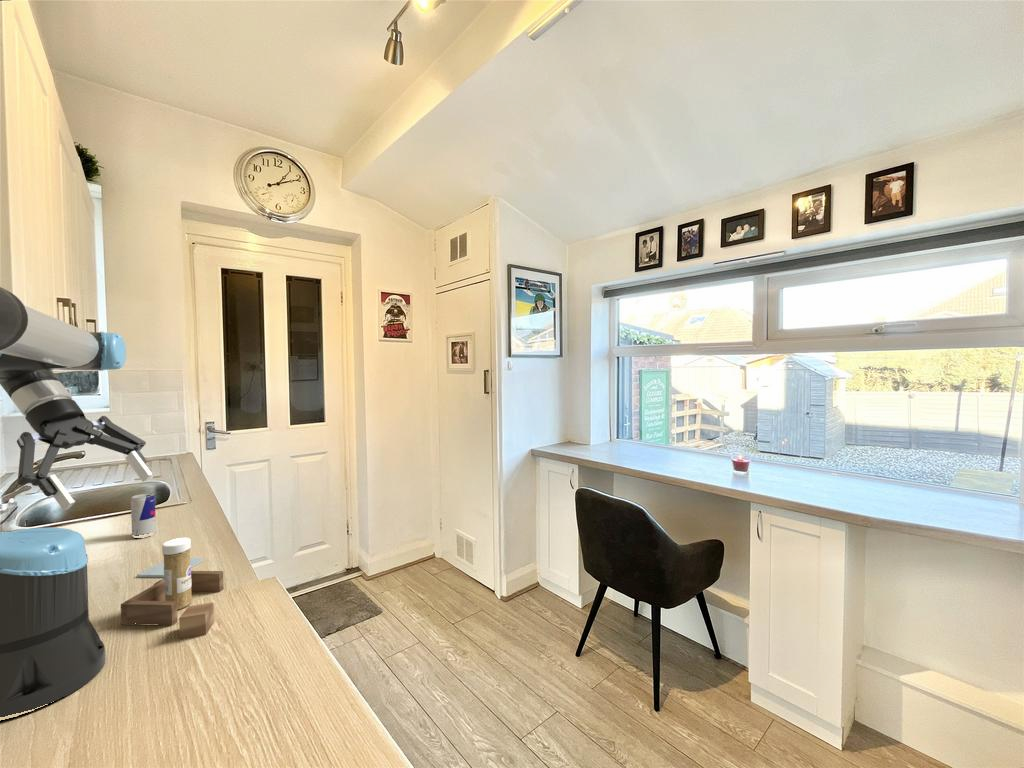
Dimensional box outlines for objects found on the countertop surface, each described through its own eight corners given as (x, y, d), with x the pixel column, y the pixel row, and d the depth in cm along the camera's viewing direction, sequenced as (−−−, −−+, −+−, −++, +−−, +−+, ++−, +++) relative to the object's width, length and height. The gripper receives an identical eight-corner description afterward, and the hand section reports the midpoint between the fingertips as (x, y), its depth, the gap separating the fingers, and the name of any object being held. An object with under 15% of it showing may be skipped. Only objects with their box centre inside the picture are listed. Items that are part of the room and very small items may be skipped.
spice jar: (191, 607, 86) (189, 542, 85) (162, 614, 83) (160, 547, 83) (193, 597, 89) (191, 534, 89) (165, 604, 87) (163, 539, 86)
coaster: (174, 577, 98) (174, 575, 98) (137, 577, 98) (137, 574, 98) (203, 560, 107) (203, 558, 107) (169, 560, 107) (169, 557, 107)
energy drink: (159, 534, 125) (157, 494, 124) (135, 541, 120) (134, 499, 120) (152, 531, 127) (150, 492, 127) (129, 537, 123) (127, 496, 123)
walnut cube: (206, 635, 76) (205, 613, 76) (179, 639, 75) (179, 617, 75) (214, 622, 80) (213, 602, 80) (189, 626, 79) (188, 606, 79)
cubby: (172, 625, 79) (171, 604, 79) (121, 624, 80) (120, 604, 80) (223, 588, 93) (223, 571, 93) (179, 588, 93) (179, 570, 93)
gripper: (112, 404, 98) (166, 477, 98) (-51, 435, 75) (20, 531, 74) (127, 386, 96) (182, 460, 96) (-36, 412, 72) (37, 510, 72)
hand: (111, 491), depth 85 cm, fingers open, 13 cm apart
